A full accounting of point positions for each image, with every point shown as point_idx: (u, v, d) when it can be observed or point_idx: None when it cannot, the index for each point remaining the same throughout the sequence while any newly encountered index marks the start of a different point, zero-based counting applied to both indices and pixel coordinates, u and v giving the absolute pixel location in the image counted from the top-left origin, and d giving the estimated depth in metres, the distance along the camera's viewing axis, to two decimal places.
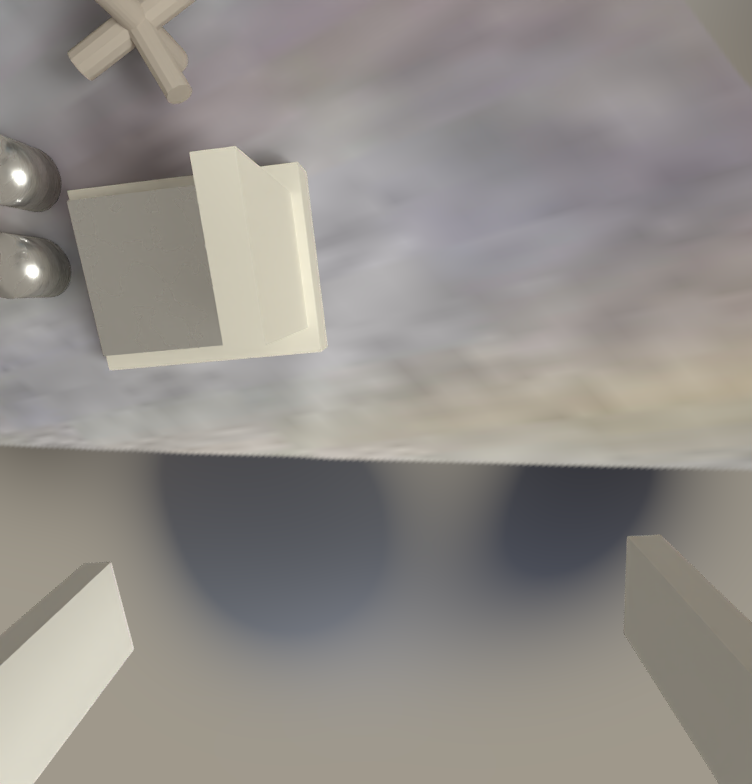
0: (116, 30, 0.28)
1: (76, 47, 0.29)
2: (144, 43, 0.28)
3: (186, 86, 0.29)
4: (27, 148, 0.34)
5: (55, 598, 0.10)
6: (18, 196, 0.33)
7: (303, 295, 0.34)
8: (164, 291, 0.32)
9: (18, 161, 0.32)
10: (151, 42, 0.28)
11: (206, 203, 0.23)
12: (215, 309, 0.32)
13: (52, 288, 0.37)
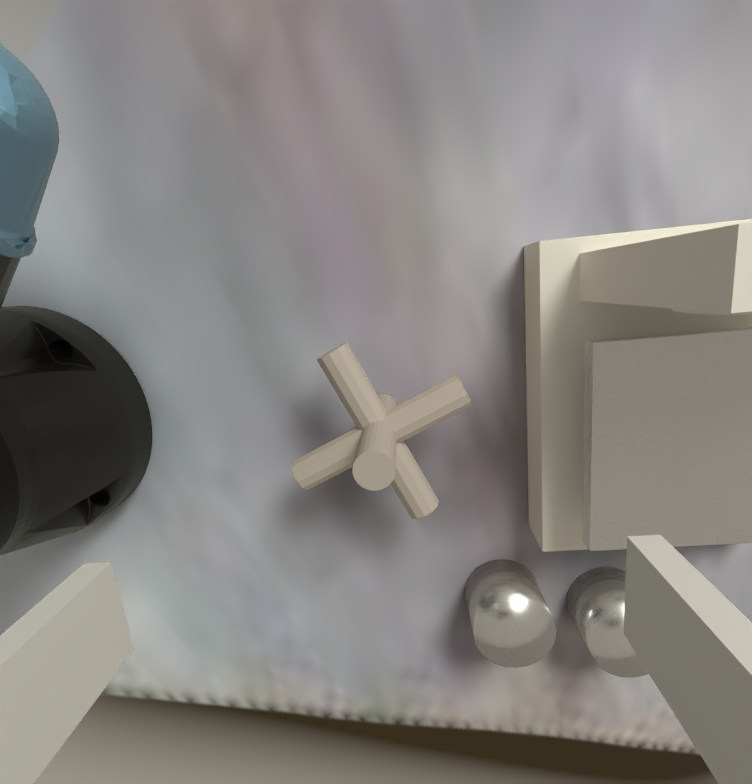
0: (396, 457, 0.23)
1: (411, 507, 0.23)
2: (413, 424, 0.22)
3: (458, 378, 0.22)
4: (482, 587, 0.29)
5: (55, 598, 0.10)
6: (546, 608, 0.27)
7: None
8: (736, 438, 0.21)
9: (511, 599, 0.27)
10: (412, 415, 0.22)
11: None
12: None
13: None
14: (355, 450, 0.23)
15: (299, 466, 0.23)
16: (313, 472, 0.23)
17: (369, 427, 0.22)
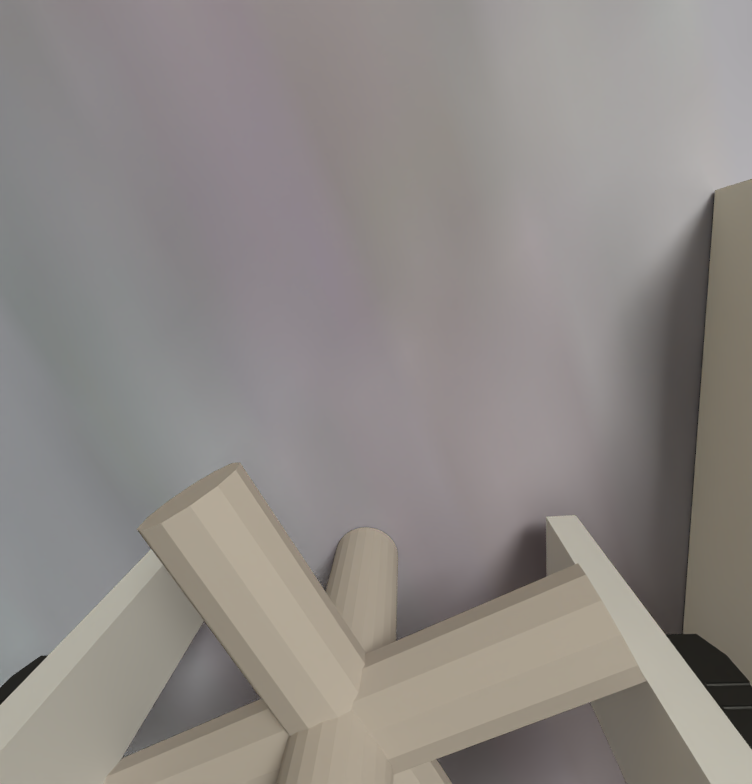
0: None
1: None
2: (447, 741, 0.07)
3: (597, 594, 0.07)
4: None
5: (145, 567, 0.11)
6: None
7: None
8: None
9: None
10: (444, 713, 0.07)
11: None
12: None
13: None
14: None
15: None
16: None
17: (300, 775, 0.06)
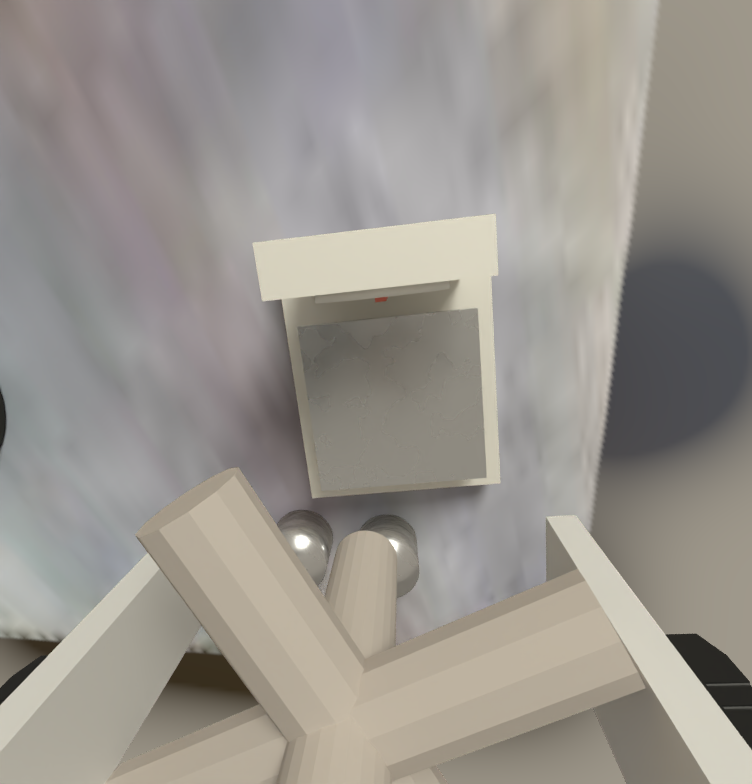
0: None
1: None
2: (446, 748, 0.07)
3: (597, 600, 0.07)
4: None
5: (145, 567, 0.11)
6: (319, 544, 0.33)
7: None
8: (414, 399, 0.28)
9: (286, 537, 0.33)
10: (444, 721, 0.07)
11: (317, 284, 0.19)
12: (435, 341, 0.27)
13: (408, 532, 0.35)
14: None
15: None
16: None
17: (298, 782, 0.06)
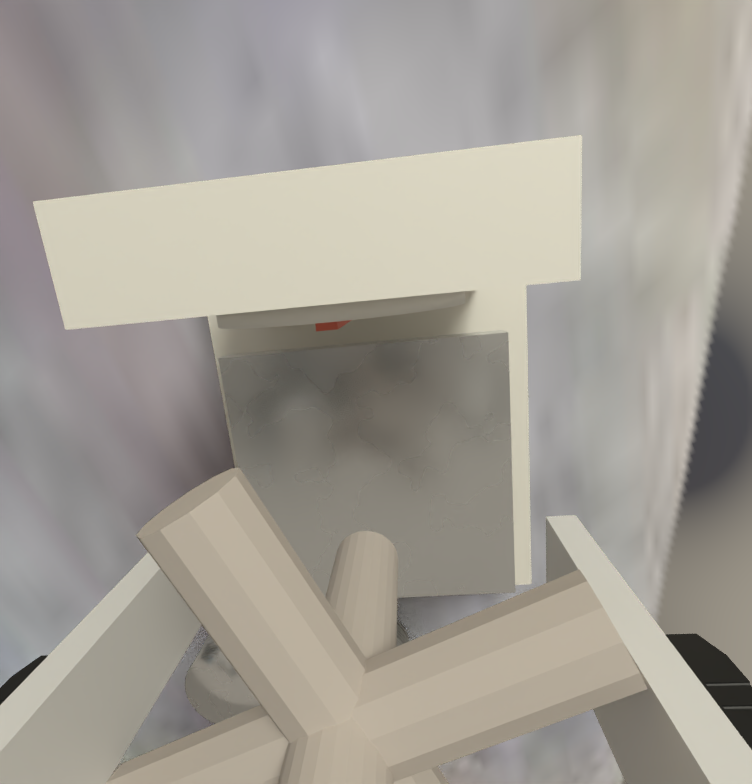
0: None
1: None
2: (448, 749, 0.07)
3: None
4: None
5: (145, 567, 0.11)
6: None
7: None
8: (404, 473, 0.18)
9: (220, 652, 0.23)
10: (445, 721, 0.07)
11: (180, 295, 0.08)
12: (439, 383, 0.17)
13: None
14: None
15: None
16: None
17: (300, 783, 0.06)
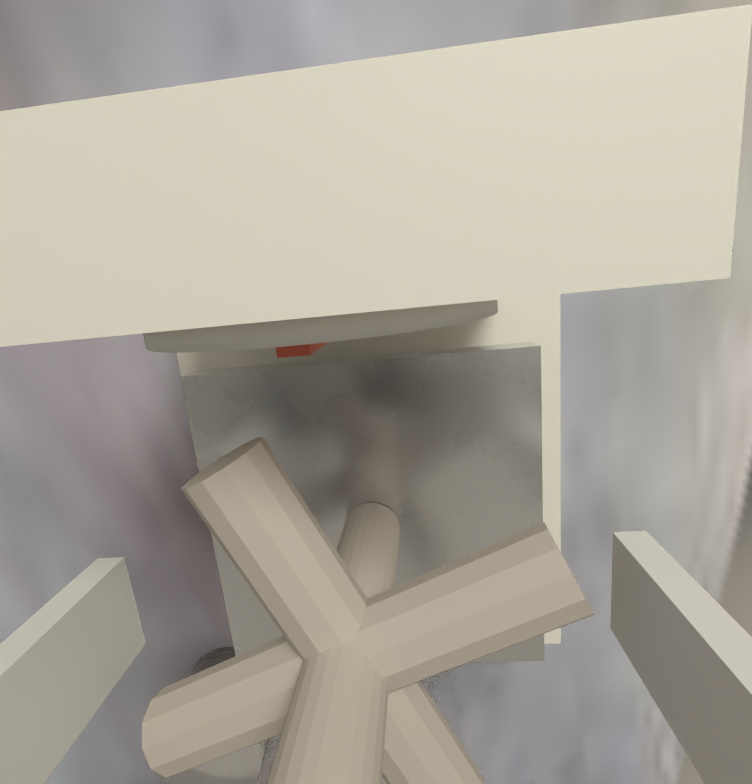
0: (387, 727, 0.09)
1: None
2: (431, 663, 0.08)
3: None
4: None
5: (70, 593, 0.10)
6: None
7: None
8: (410, 517, 0.14)
9: None
10: (429, 640, 0.08)
11: (35, 305, 0.05)
12: (453, 409, 0.13)
13: None
14: (284, 713, 0.09)
15: (157, 728, 0.10)
16: (186, 751, 0.09)
17: (312, 683, 0.08)
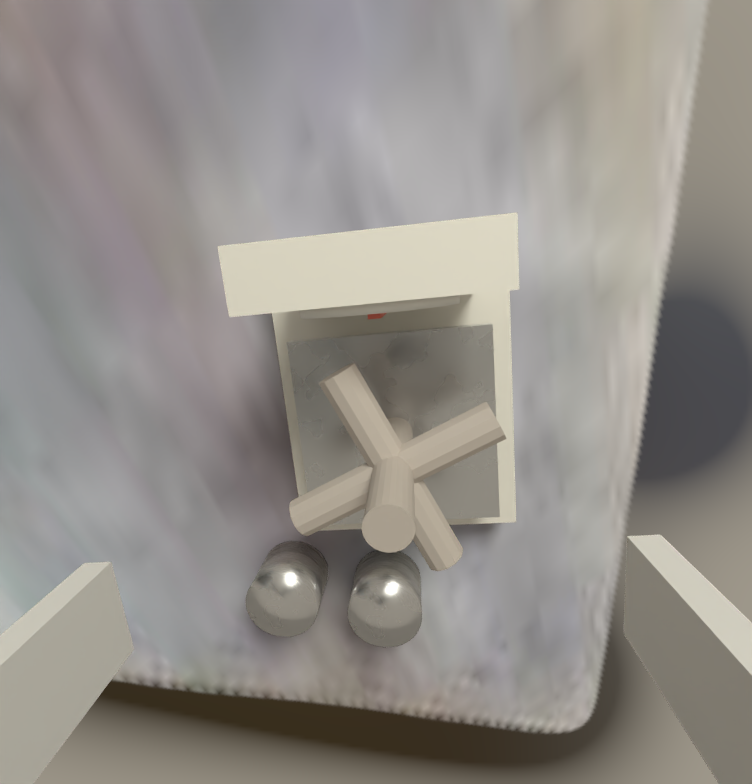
0: None
1: (430, 558, 0.20)
2: (434, 461, 0.18)
3: None
4: (263, 564, 0.32)
5: (55, 599, 0.10)
6: (310, 583, 0.30)
7: None
8: (418, 426, 0.24)
9: (274, 574, 0.29)
10: (433, 450, 0.18)
11: (295, 298, 0.15)
12: (443, 361, 0.23)
13: (410, 571, 0.31)
14: (364, 491, 0.19)
15: (298, 508, 0.20)
16: (314, 516, 0.19)
17: (381, 466, 0.18)
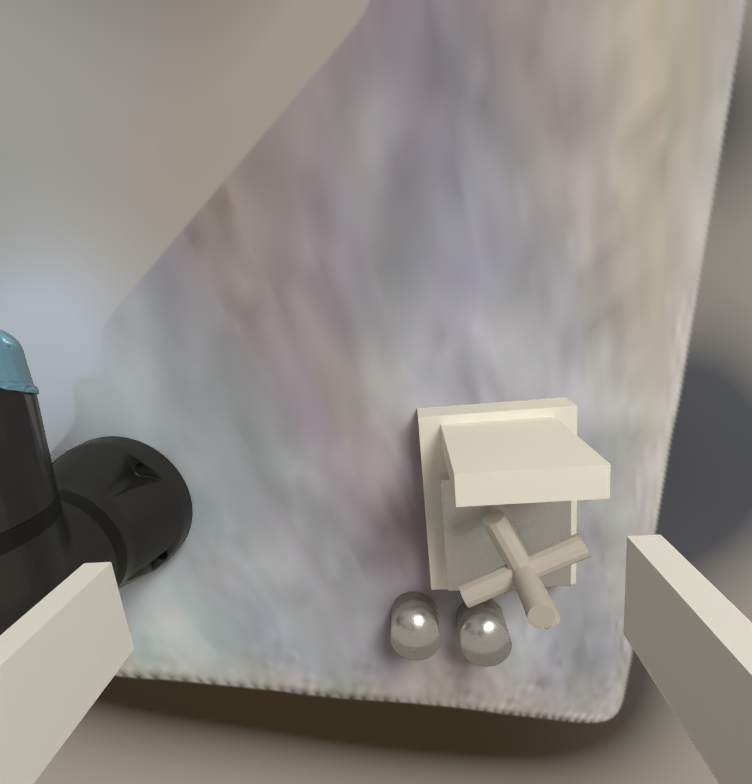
0: None
1: None
2: (549, 569, 0.33)
3: None
4: (398, 610, 0.46)
5: (55, 599, 0.10)
6: (434, 624, 0.44)
7: (525, 418, 0.39)
8: (521, 531, 0.39)
9: (412, 618, 0.44)
10: (549, 563, 0.33)
11: (493, 499, 0.29)
12: None
13: (499, 614, 0.46)
14: (508, 584, 0.33)
15: (466, 592, 0.34)
16: (477, 597, 0.34)
17: (522, 573, 0.32)
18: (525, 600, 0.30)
